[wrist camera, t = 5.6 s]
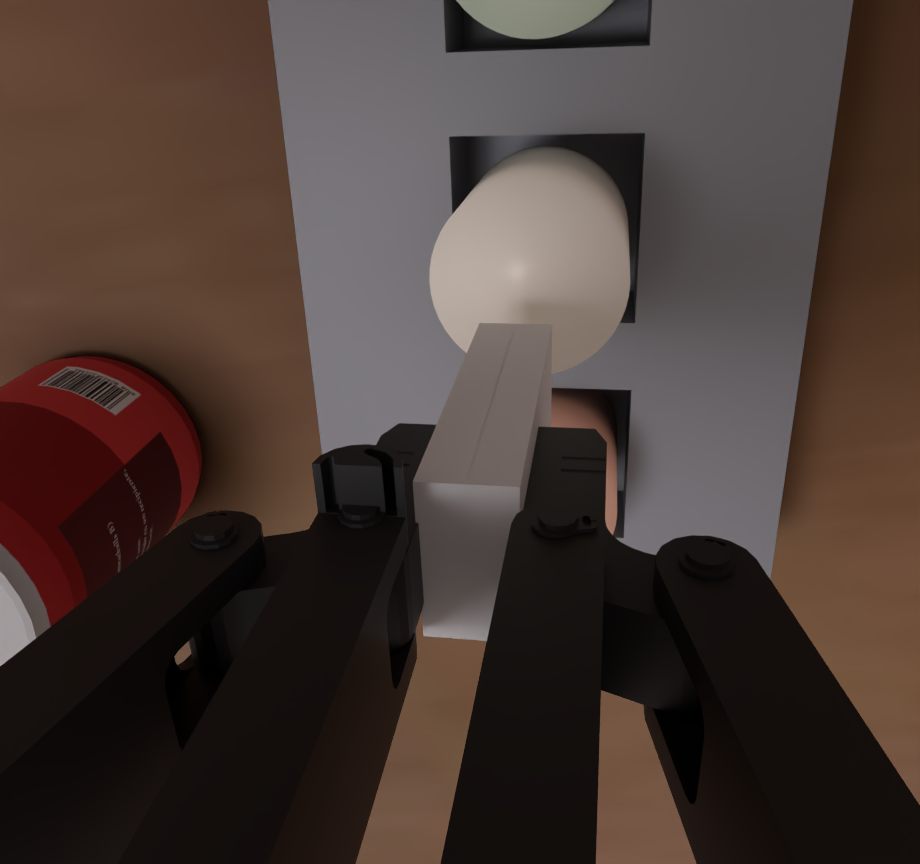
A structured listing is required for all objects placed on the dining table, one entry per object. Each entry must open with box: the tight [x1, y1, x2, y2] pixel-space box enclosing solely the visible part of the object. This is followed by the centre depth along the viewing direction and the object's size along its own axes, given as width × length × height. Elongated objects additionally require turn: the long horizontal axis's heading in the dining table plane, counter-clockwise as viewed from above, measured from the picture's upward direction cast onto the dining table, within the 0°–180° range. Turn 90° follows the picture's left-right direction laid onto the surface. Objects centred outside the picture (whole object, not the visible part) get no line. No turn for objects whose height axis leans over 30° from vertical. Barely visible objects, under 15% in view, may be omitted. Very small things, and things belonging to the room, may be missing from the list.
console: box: [268, 0, 853, 578], centre depth 25 cm, size 22×14×4 cm, turn 3°
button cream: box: [429, 146, 630, 374], centre depth 21 cm, size 4×4×5 cm
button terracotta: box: [551, 388, 617, 535], centre depth 26 cm, size 4×4×5 cm
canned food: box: [0, 356, 202, 666], centre depth 29 cm, size 8×8×11 cm
